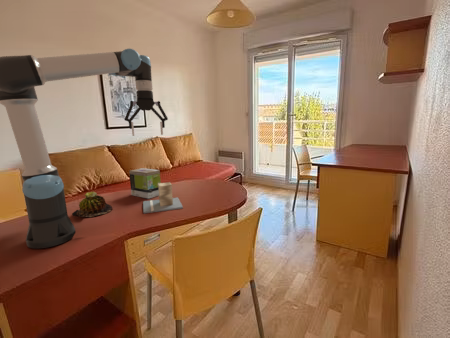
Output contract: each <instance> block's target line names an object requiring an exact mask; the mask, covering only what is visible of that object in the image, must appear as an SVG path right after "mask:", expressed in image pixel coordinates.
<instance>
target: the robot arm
mask: <svg viewBox="0 0 450 338" xmlns="http://www.w3.org/2000/svg"><path fill="white" fill-rule="evenodd" d="M106 74H107V75H113V76H115V77H117V76H121V77H132V78H134V79H135V81H134V82H135V90H136V91H135V92H136V101H133V100H130V102H129V105H130V106H129V107H128V109H127V112H126V114H125V117H124V121H126V122H128V128H129V129H130V130H131V132H132V133H131V135H132V136H134V137H135V129H134V122H133V120H134V119H135V117H136V116H137V115H138V114H139V112H140V111H146V112H147V111H151V112H153V113H154V115H155V116H156V117H157V118H158V119H159V120H160V121H159V122H160V123H159V125H160V135H161V136H163V135H164V130H163V129H164V128H165V126H166V125H165V122H166V121H168V120H169V118H168V116H167V115H166V113H165V111H164V109H163V107H162V106H161V101H160V100H158V101H154V92H153V81H152V80H153V79H152V78H153V77H152V65H151V58H150V57H149V56H148V55H143V54H140V53H139V52H138V51H136V50H135V49H133V48H125V49H123V50H122V51H121V50H120V51H109V52H98V53H97V52H96V53H83V54H82V53H81V54H73V55H61V56H60V55H59V56H58V55H57V56H44V57H36V56H34V55H32V54H26V55H24V54H23V55H6V56H0V105H2V106H4V107H5V110H6V114H7V115H8V120H9V123H10V126H11V128H12V129H11V130H12V131H13V135H14V139H15V141H16V142H15V143H16V145H17V148H18V152H19V154H20V155H19V156H20V158H21V160H22V161H21V162H22V163H23V167H24V170H23V172H22V173H21V176H22V180H23V183H22V189H21V190H22V193H23V195H24V201H25V206H26V207H25V208H26V213H27V218H28V223H29V224H28V228H27V233H26V238H25V243H26V246H27V247H28V248H30V249H44V248H45V249H47V248H50V247H51V248H52V247H56V246H57V245H61V244H64V243H66V242H68V241H70V240H71V239H73V238H74V236H75V234H76V228H75V227H76V226H74V224H73V221H72V219H70V217H69V215H68V208H67V202H66V195H65V189H64V188H65V186H64V182H63V178H61V176H60V175H59V170H58V167H56V166H54V165H52V161H51V158H50V156H49V155H50V154H49V151H48V149H47V145H46V141H45V138H44V134H43V131H42V130H43V129H42V128H41V127H42V126H41V124H40V119H39V116H38V114H37V110H36V106H35V105H36V103H37V102H38V101H39V100H38V96H37V92H36V91H37V90H36V88H35V87H38V86H39V87H40V86H44V85H45V83H47V82H55V81H63V80H69V79H77V78H85V77H93V76H100V75H106ZM135 106H138V108H136V110H135V111H134V112H133V114H132V115H131V112H132V110H133V107H135ZM154 106H156V107H157V108H158V109H159V111H160V113H161V114H162V115H160V113H159V112H158V111H157V110H156V109H155V108H154ZM130 115H131V116H130ZM129 117H130V118H129Z"/></svg>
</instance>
